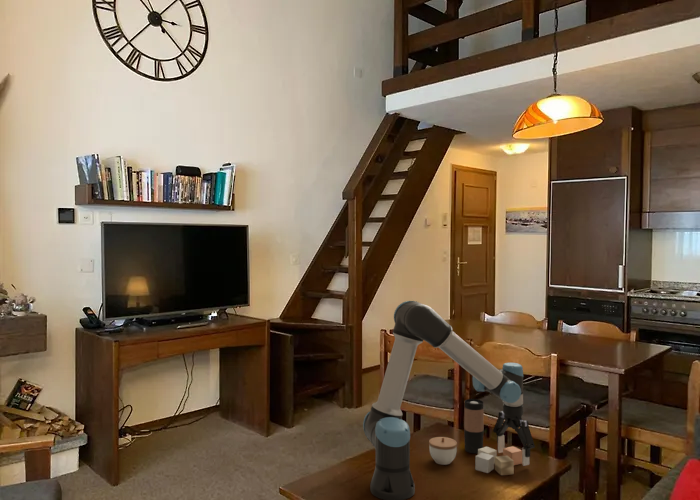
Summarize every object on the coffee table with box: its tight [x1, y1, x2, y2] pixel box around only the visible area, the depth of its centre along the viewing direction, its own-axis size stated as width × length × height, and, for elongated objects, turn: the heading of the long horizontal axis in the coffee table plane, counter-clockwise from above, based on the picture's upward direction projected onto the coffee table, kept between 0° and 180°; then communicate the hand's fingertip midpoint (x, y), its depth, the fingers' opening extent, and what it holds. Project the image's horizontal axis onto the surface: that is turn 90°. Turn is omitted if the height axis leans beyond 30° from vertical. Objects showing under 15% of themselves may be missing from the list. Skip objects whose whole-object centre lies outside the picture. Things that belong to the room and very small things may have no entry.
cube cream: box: [477, 446, 498, 465], centre depth 211 cm, size 5×5×5 cm
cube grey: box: [474, 452, 495, 474], centre depth 205 cm, size 5×5×5 cm
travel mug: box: [463, 398, 485, 454], centre depth 223 cm, size 8×8×20 cm
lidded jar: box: [428, 436, 458, 466], centre depth 212 cm, size 11×11×9 cm
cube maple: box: [494, 455, 515, 476], centre depth 203 cm, size 5×5×5 cm
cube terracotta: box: [502, 446, 522, 466], centre depth 212 cm, size 5×5×5 cm
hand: (513, 458), depth 212 cm, fingers open, 13 cm apart
